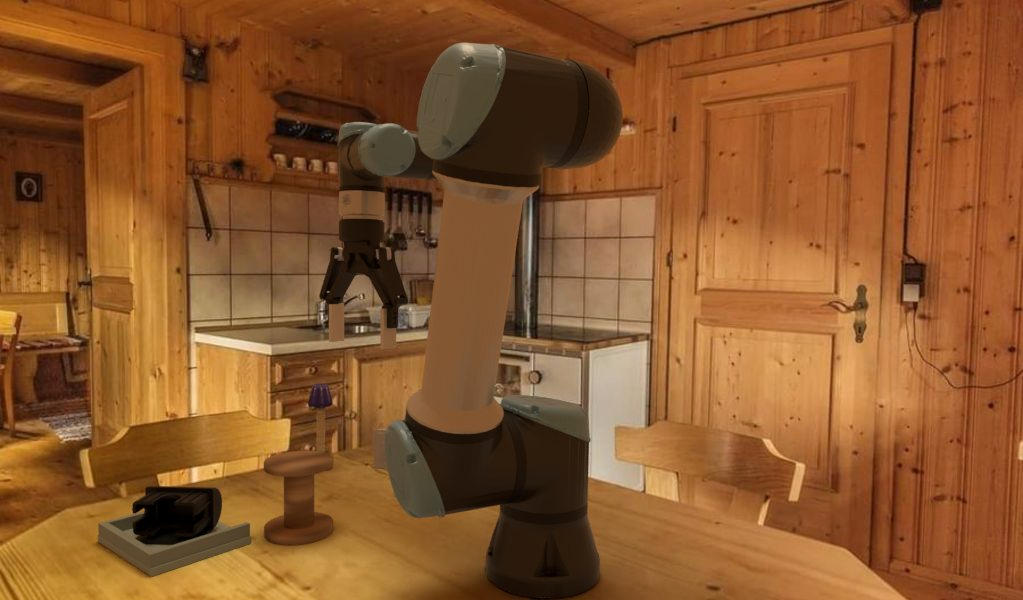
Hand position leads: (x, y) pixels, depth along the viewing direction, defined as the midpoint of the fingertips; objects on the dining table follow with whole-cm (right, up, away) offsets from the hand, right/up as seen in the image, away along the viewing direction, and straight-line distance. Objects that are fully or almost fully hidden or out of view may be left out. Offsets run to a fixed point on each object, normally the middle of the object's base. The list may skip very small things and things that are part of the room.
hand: (361, 344), depth 117 cm
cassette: (+4, -26, +20) cm, 33 cm away
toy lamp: (-12, -26, +19) cm, 34 cm away
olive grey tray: (-23, -27, -17) cm, 40 cm away
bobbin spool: (-7, -27, -13) cm, 31 cm away
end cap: (-23, -27, -17) cm, 39 cm away
